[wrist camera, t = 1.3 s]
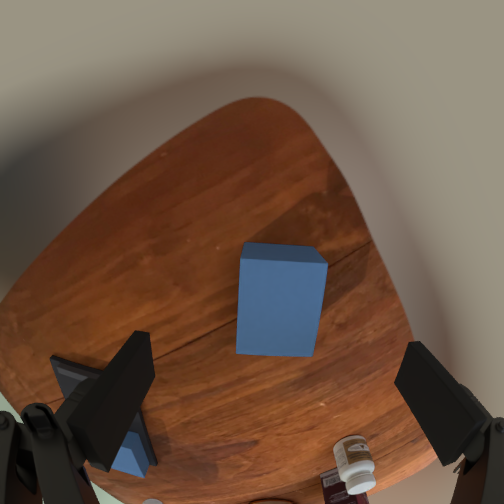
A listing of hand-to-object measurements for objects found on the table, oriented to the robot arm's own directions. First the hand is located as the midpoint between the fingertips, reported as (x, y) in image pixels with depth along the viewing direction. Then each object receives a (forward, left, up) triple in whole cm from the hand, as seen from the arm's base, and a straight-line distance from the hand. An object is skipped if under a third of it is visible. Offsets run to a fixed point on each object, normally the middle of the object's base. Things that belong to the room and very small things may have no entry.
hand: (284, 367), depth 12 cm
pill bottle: (+22, +12, -11) cm, 27 cm away
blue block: (0, 0, -11) cm, 11 cm away
